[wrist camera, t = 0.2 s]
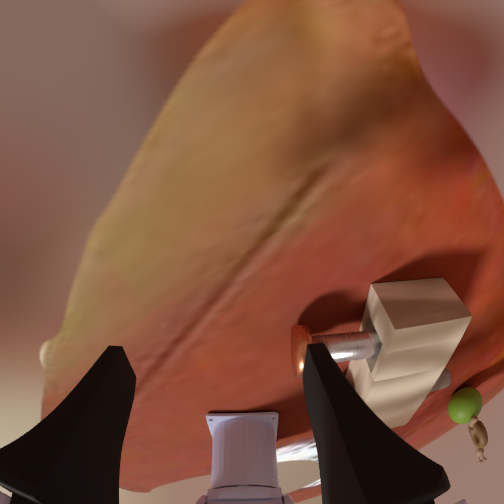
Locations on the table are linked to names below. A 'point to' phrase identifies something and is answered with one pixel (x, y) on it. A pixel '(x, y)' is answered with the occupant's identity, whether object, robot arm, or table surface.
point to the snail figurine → (469, 416)
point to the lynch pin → (333, 345)
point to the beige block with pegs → (408, 345)
